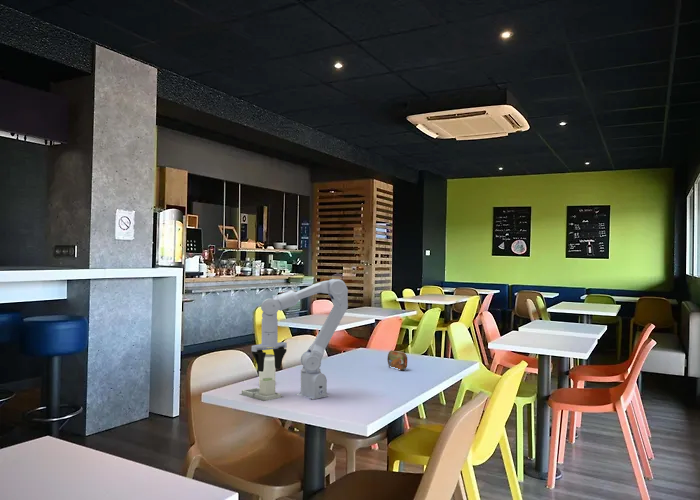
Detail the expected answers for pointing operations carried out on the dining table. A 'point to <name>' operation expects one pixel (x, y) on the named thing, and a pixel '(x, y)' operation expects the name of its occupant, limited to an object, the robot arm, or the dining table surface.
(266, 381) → the plug
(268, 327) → the robot arm
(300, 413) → the dining table surface
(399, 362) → the tin
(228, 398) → the dining table surface
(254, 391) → the grey divided tray
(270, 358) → the can
